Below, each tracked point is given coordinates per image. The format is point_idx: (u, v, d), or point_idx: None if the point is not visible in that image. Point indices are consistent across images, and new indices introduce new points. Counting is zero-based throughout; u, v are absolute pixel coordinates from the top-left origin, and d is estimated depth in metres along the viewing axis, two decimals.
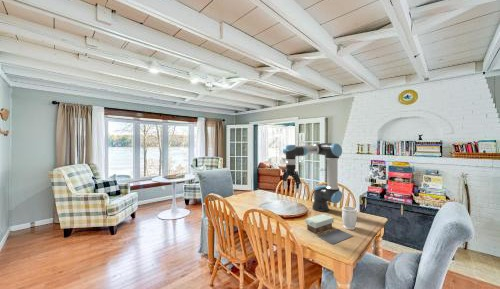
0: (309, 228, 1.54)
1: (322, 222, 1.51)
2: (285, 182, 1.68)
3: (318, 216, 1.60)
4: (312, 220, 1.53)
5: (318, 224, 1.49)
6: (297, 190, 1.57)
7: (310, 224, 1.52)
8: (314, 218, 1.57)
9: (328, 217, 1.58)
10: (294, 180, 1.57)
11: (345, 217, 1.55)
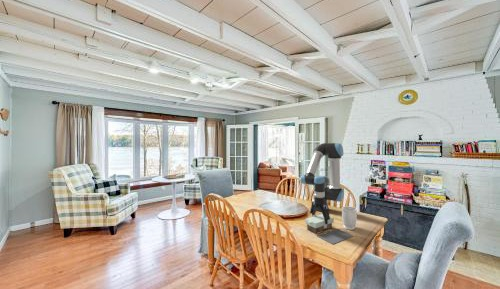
0: (309, 228, 1.54)
1: (322, 222, 1.51)
2: None
3: (318, 216, 1.60)
4: (312, 220, 1.53)
5: (318, 224, 1.49)
6: (325, 225, 1.52)
7: (310, 224, 1.52)
8: (314, 218, 1.57)
9: None
10: (323, 215, 1.52)
11: (345, 217, 1.55)
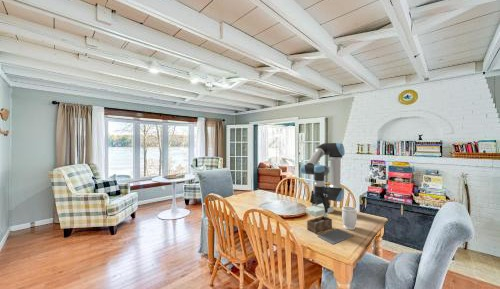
0: (309, 228, 1.54)
1: (322, 211, 1.51)
2: (314, 205, 1.61)
3: (318, 205, 1.60)
4: (312, 209, 1.53)
5: (318, 213, 1.49)
6: (325, 214, 1.52)
7: (310, 213, 1.52)
8: (314, 207, 1.57)
9: None
10: (323, 203, 1.52)
11: (345, 217, 1.55)
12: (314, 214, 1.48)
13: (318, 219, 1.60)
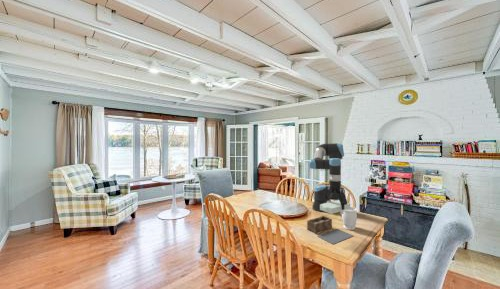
0: (309, 228, 1.54)
1: (338, 207, 1.39)
2: None
3: (333, 202, 1.48)
4: (327, 205, 1.40)
5: (334, 209, 1.36)
6: (342, 211, 1.39)
7: (325, 210, 1.39)
8: (329, 203, 1.45)
9: None
10: (339, 199, 1.40)
11: (345, 217, 1.55)
12: (330, 211, 1.36)
13: (318, 219, 1.60)
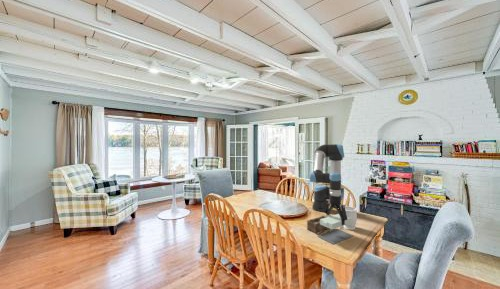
0: (309, 228, 1.54)
1: (339, 223, 1.39)
2: None
3: (333, 216, 1.48)
4: (328, 220, 1.40)
5: (334, 225, 1.37)
6: (342, 226, 1.40)
7: (325, 225, 1.39)
8: (330, 218, 1.45)
9: None
10: None
11: None
12: (330, 226, 1.36)
13: (318, 219, 1.60)
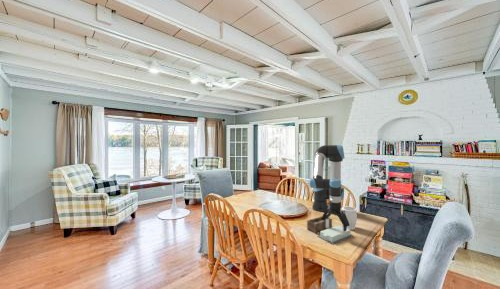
0: (309, 228, 1.54)
1: (339, 235, 1.39)
2: (327, 220, 1.50)
3: (333, 228, 1.48)
4: (328, 233, 1.41)
5: (335, 238, 1.37)
6: (344, 232, 1.38)
7: (326, 237, 1.40)
8: (330, 230, 1.45)
9: None
10: (341, 221, 1.39)
11: None
12: (330, 239, 1.36)
13: (318, 219, 1.60)
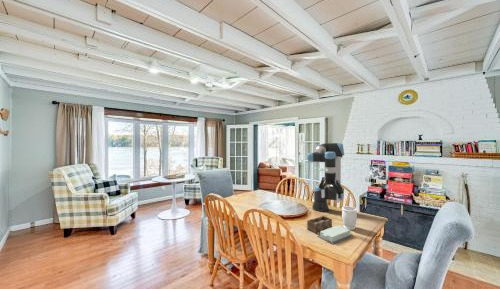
0: (309, 228, 1.54)
1: (339, 235, 1.39)
2: (323, 190, 1.61)
3: (333, 228, 1.48)
4: (328, 233, 1.41)
5: (335, 238, 1.37)
6: (338, 200, 1.50)
7: (326, 237, 1.40)
8: (330, 230, 1.45)
9: (344, 229, 1.46)
10: (335, 189, 1.50)
11: (345, 217, 1.55)
12: (330, 239, 1.36)
13: (318, 219, 1.60)
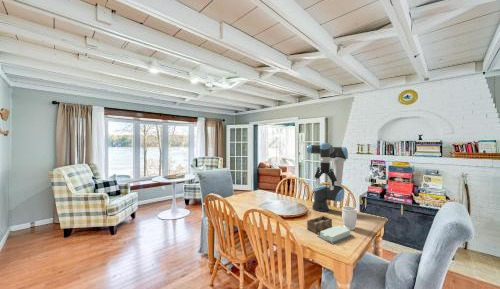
0: (309, 228, 1.54)
1: (339, 235, 1.39)
2: (318, 180, 1.73)
3: (333, 228, 1.48)
4: (328, 233, 1.41)
5: (335, 238, 1.37)
6: (332, 187, 1.61)
7: (326, 237, 1.40)
8: (330, 230, 1.45)
9: (344, 229, 1.46)
10: (329, 177, 1.62)
11: (345, 217, 1.55)
12: (330, 239, 1.36)
13: (318, 219, 1.60)
